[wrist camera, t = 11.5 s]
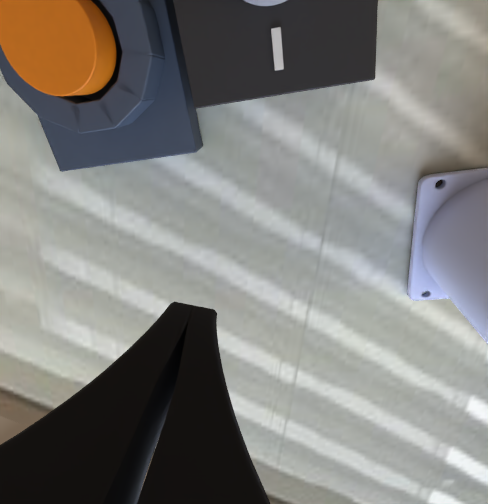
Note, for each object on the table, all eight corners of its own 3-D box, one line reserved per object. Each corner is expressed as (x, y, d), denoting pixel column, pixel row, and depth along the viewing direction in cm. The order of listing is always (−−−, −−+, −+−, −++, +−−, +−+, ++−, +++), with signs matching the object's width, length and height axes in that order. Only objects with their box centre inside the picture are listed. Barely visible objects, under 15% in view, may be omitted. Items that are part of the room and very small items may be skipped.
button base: (-11, -66, 14) (-91, -109, 11) (152, -109, 13) (115, -170, 10) (77, 164, 18) (37, 180, 15) (203, 146, 17) (188, 159, 14)
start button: (12, -2, 12) (-25, -14, 11) (98, -21, 12) (72, -37, 10) (51, 101, 14) (24, 103, 12) (128, 87, 13) (110, 87, 12)
